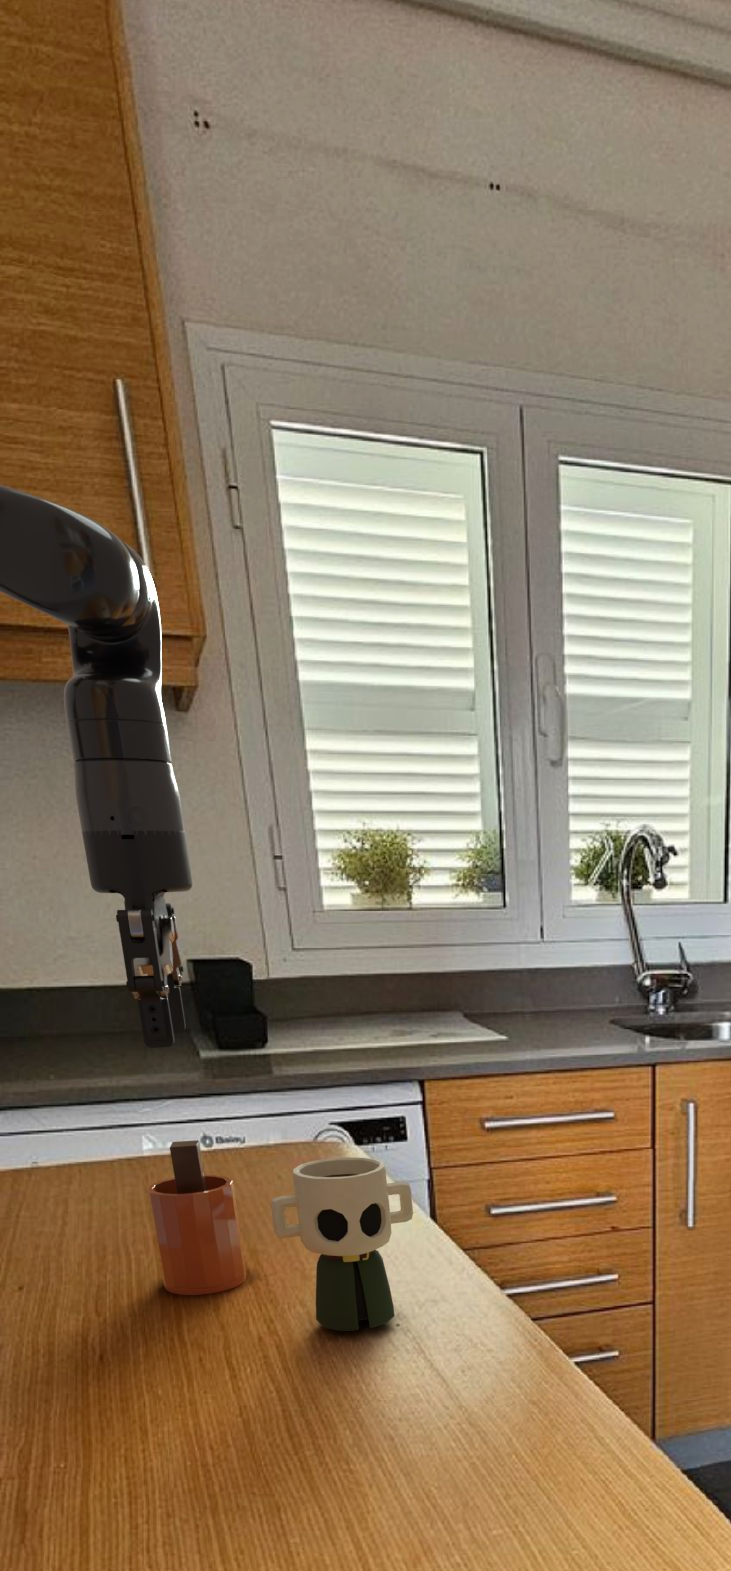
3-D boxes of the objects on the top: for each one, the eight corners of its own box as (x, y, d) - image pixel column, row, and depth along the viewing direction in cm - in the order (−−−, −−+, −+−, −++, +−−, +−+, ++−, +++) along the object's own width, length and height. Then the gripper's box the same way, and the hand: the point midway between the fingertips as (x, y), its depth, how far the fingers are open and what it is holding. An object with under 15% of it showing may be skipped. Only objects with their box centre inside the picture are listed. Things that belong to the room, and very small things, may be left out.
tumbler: (148, 1292, 105) (130, 1193, 102) (192, 1267, 111) (177, 1172, 108) (219, 1297, 104) (203, 1196, 100) (261, 1271, 110) (247, 1176, 107)
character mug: (296, 1349, 92) (274, 1185, 87) (280, 1320, 98) (259, 1165, 93) (433, 1326, 97) (420, 1168, 92) (410, 1299, 103) (397, 1150, 98)
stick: (191, 1280, 106) (169, 1147, 102) (194, 1272, 108) (172, 1141, 104) (217, 1278, 107) (196, 1145, 102) (219, 1270, 109) (199, 1139, 104)
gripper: (97, 829, 99) (131, 1030, 105) (63, 825, 86) (104, 1054, 92) (193, 828, 100) (221, 1026, 107) (173, 824, 88) (206, 1049, 94)
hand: (166, 1039), depth 99 cm, fingers open, 8 cm apart
